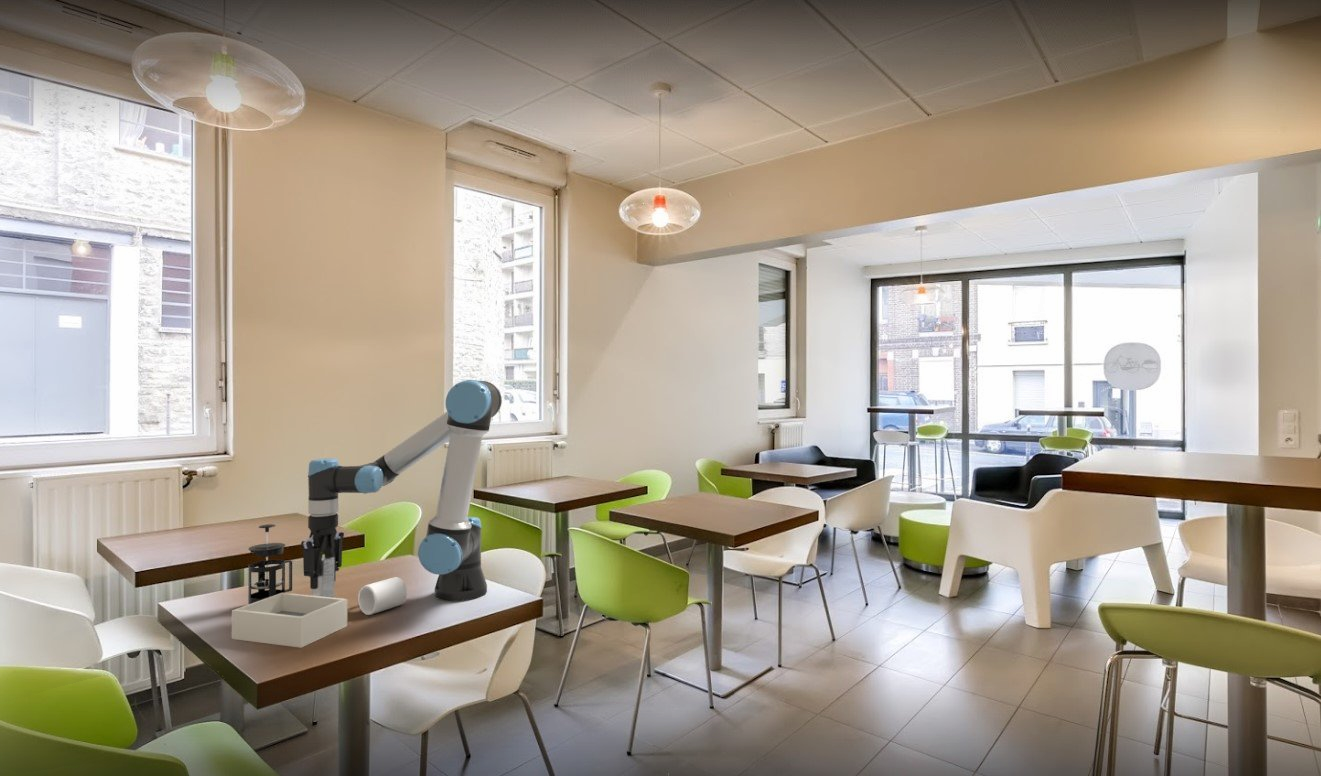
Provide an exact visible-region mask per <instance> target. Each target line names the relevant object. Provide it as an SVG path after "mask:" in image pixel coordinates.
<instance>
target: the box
mask: <svg viewBox="0 0 1321 776" xmlns="http://www.w3.org/2000/svg"><path fill="white" fill-rule="evenodd" d="M346 627H348V599H347V598H341V597H334V598H332V597H322V596H312V594H303V593H300V594H299V593H290V592H285V593H280V594H277V595H274V596H271V597H268V598H266V599H263V600H260V601H257V602H254V603H251V604H249V605H248V604H246V605H244V606H241V607H237V608H235V609H232V610H231V639H232V640H238V641H244V642H245V641H246V642H252V643H253V642H254V643H262V644H269V645H277V646H283V647H284V646H285V647H292V648H300V649H301V648H303V647H306V646H308V645H310V644H311V643H314V642H317V641H318V640H320V639H323V638H325V637H327V636H329V635H331V634H334V633H335V632H337V631H340V630H342V629H344V628H346Z"/></svg>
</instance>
